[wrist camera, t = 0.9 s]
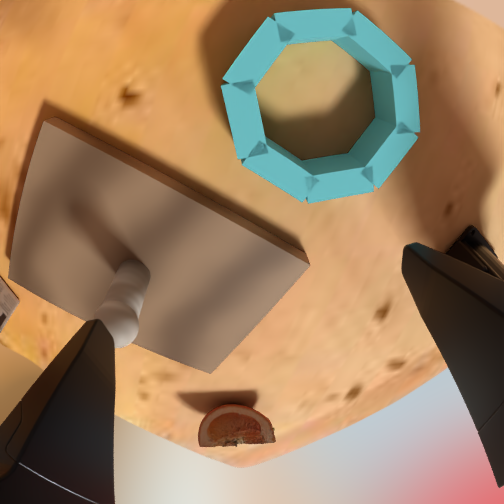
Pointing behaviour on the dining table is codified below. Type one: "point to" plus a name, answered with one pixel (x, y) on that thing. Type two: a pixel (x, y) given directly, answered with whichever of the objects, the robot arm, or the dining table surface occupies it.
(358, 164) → the teal octagonal ring
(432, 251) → the robot arm
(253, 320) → the hook board
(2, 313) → the coffee box
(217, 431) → the fruit slice
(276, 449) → the dining table surface
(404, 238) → the dining table surface
